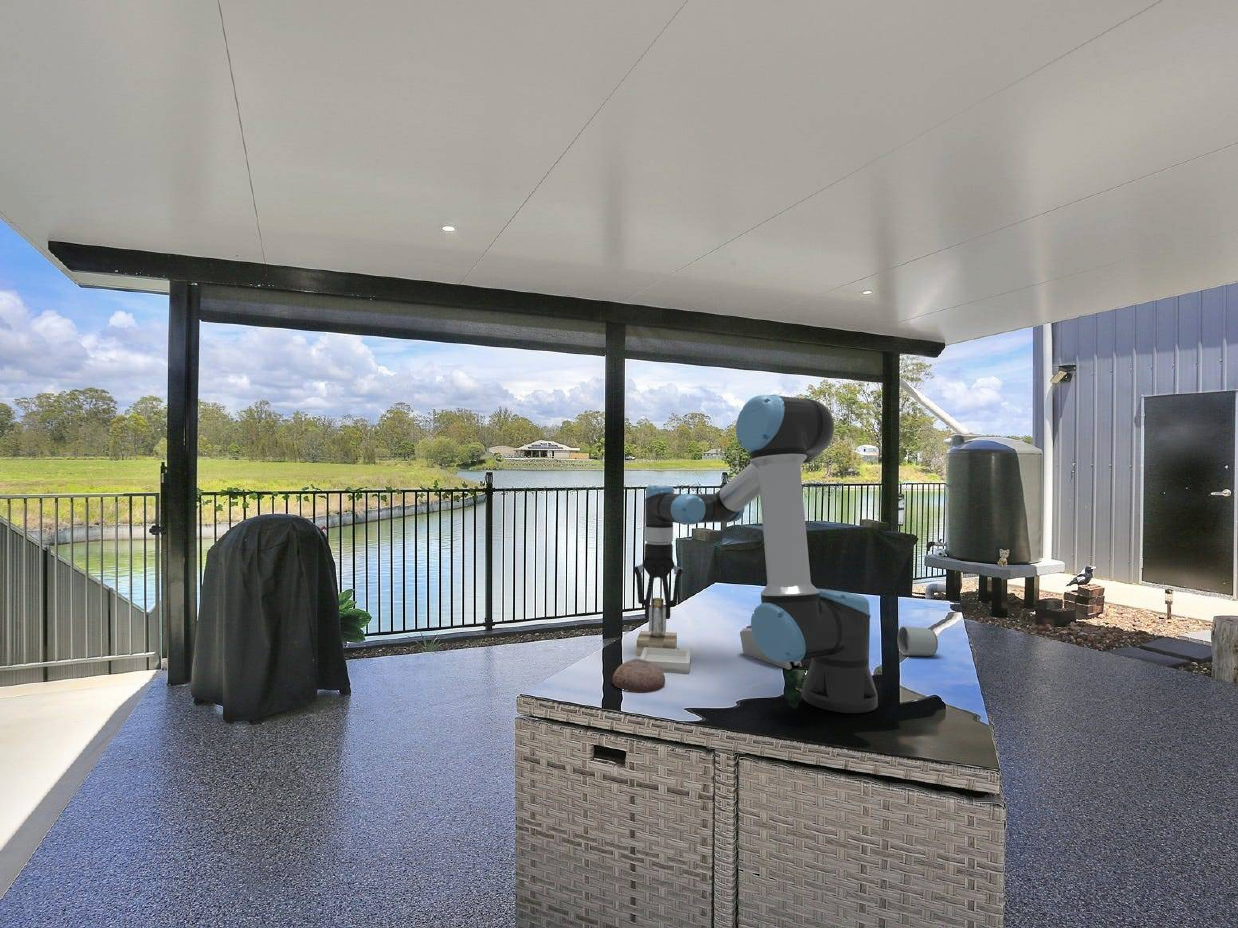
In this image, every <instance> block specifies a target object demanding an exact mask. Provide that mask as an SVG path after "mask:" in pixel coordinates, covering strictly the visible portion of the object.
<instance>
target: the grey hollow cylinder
mask: <svg viewBox="0 0 1238 928" xmlns="http://www.w3.org/2000/svg"><path fill="white" fill-rule="evenodd" d="M938 643H939V642H938V637H937V634H936V633H935V631H933V630H932V629H931V628H927V627H926V628H925V627H917V626H907V625H902V626H900V628H899V629H898V633H897V648H898V649H899V652H900V654H901V655H903V656H907V657H908V656H910V657H911V656H913V657H914V656H915V657H917V656H918V657H930V656H933V655H935V654H936V653H937V651H938V649H939V647H938V646H939V644H938Z"/></svg>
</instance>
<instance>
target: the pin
mask: <svg viewBox="0 0 1238 928" xmlns="http://www.w3.org/2000/svg"><path fill="white" fill-rule="evenodd" d="M651 601H652V602H651V605H652V638H663V606H664V601H665V598H662V597H652V598H651Z"/></svg>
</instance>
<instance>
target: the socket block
mask: <svg viewBox="0 0 1238 928" xmlns="http://www.w3.org/2000/svg"><path fill="white" fill-rule="evenodd" d="M677 641H678V632H671V631H669V632H667V631H666V632H663V638H652V632H649V630H648V631H646V630H640V631H639V634H638V637H637V639H636V656H639V657H641V654H642V651H643V649H644V647H648V648H667V649H678V648H677V646H678V645H677V644H678V643H677Z"/></svg>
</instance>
